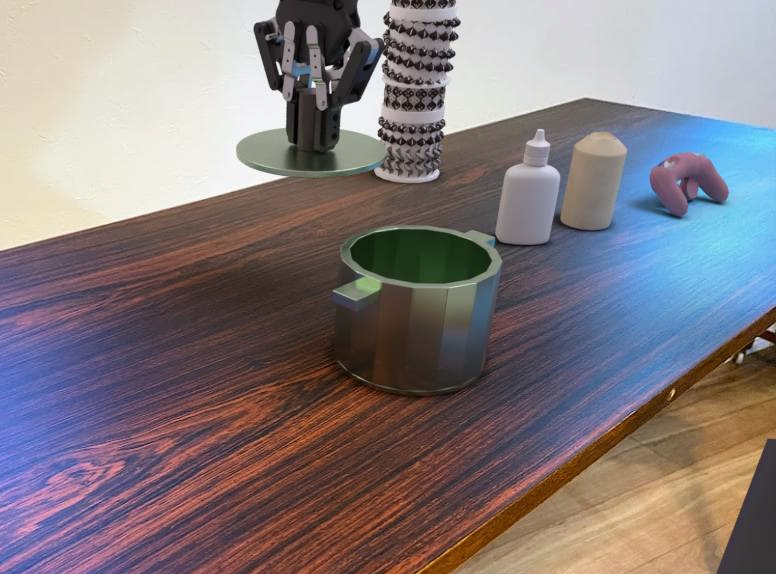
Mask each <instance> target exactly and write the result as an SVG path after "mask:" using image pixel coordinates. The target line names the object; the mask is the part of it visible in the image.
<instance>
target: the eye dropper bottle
mask: <svg viewBox="0 0 776 574" xmlns="http://www.w3.org/2000/svg"><path fill="white" fill-rule="evenodd" d="M550 150H551V143H550V142H548V141H546V139H545V129H544V128H543V129H542V128H538V129H537V130H536V133H535V134H534V137H533V138H532V139H531V140H528V141H526V143H525V148H524V155H523V160H522V162H521V163H519V164H515V165H513V166H511V167H509V168H507V170H506V171H505V173H504V177H503V183H502V190H501V196H500V201H499V208H498V214H497V220H496V225H495V230H494V231H495V232H494V234H495V236H496V237H495V238H496V239H497V240H498V242H500V243H502V244H507V245H517V246H534V245H542V244H543V245H544V244H545V243H548V241H549V240H550V237H551V231H552V226H553V220H554V216H555V210H556V205H557V200H558V195H559V189H560V183H561V174H560V172H559V171H558V169H556V168H555V167H553V166H551V165H550V164H548V162H549V161H548V160H549V156H550Z"/></svg>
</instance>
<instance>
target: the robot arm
mask: <svg viewBox="0 0 776 574" xmlns="http://www.w3.org/2000/svg"><path fill="white" fill-rule="evenodd" d="M358 2H359V0H279V2H278V5H277V7H276V10H275V15H274V16H272V17H271V18H269V19H267V20H261V21H257V22H255V23H254V25H253V35H254V37H255V41H256V45H257V49H258V52H259V55H260V59H261V63H262V65H263V69H264V73H265V76H266V79H267V83H268V86H269V87H268V88H269V89H270V90H271V91H272V92H273V91H274V92H275V91H278V92H280V94H281V95H282V98H283V100H284V101H285V102H286V107H285V110H286V111H285V128H286V133H287V136H288V141H289V143H292V144H295V145H297V132H298V103H299V90H301V89H303V88H312V86H313V83H314V84H315V85H314V86H315V88H316V103H317V107H318V108H319V109H316V110H315V130H314V149H315V150H316V151H319V152H326V151H329V150H332V149H334V148H335V146H336V144H337V143H338V141H339V136H340V133H339V132H340V129H341V119H342V117H341V116H342V109H343V107H344V106H346V105H351V104H354V103H358V102H360V101H361V100H362V98H363V95H364V93H365V90H366V89H367V88H368V86H369V85H368V84H369V82H370V80H371V78H372V76H373V74H374V72H375V69H376V67H377V65H378V63H379V61H380V59H381V57H382V55H383V54H382V53H383V51H384V48H385V44H386V43H385V42H384V39H383V37H382V38H381V37H375V38H372V37H371V36H370V35H369V34H367V32H365V31H364V30H363V29H362V28H361V17H360V15H359V10H358ZM277 63H278V64H279V68H280V71H279V68H278V64H277ZM326 67H330V68H328V69H326ZM280 72H281V74H280Z"/></svg>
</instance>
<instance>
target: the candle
mask: <svg viewBox="0 0 776 574" xmlns="http://www.w3.org/2000/svg"><path fill="white" fill-rule="evenodd" d="M627 154H628V149H627V147H626V146H625V145H624V144H623V142H622V141H621V140H619V139H618V138H617V137H616V136H615V135H614V134H612V133H610V132H609V131H593V132H591V133H590V134H587V135H586V136H585V137H583V138H582V139H580V140H579V141H577V142H576V143H575V144H574V145H573V151H572V157H571V162H570V165H569V171H568V176H567V181H566V186H565V191H564V196H563V201H562V206H561V212H560V221H561V223H562V224H564V225H565V226H568V227H571V228H574V229H578V230H583V231H601V230H605V229H607V228H609V227H610V225H611V222H612V220H613V219H612V218H613V215H614V211H615V206H616V201H617V197H618V194H619V189H620V185H621V182H622V181H621V180H622V177H623V172H624V168H625V163H626V159H627Z"/></svg>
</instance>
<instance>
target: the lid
mask: <svg viewBox="0 0 776 574" xmlns="http://www.w3.org/2000/svg"><path fill="white" fill-rule="evenodd" d="M316 109H319V108H318V107H317V103H316V87H311V88H303V89H301V90H299V103H298V132H297V145H295V144H292V143H289V141H288V136H287V133H286V127H280V128H273V129H268V130H263V131H259V132H255V133H252V134H250V135H247V136H246V137H244V138H242V139H241V140H239V141H238V142H237V144H236V147H235V156H236V158H237V160H238V161H239V162H240V163H241V164H243V165H245V166H246V167H248V168H251V169H253V170H255V171H259V172H263V173H266V174H269V175H275V176H281V177H288V178H301V179H329V178H330V179H335V178H343V177H351V176H355V175H361V174H364V173H367V172H371V171H374V169H375V168H377V167H379V166H381V165H382V164H383V163H384V162H385V161H386V158H387V148H386V146H385V145H384V144H383V143H382V142H380V139H377V138H375V137H373V136H371V135H367V134H364V133H361V132H357V131H353V130H349V129H342V128H340V132H339V133H340V136H339V141H338V143H337V144H336V146H335V148H334V149H332V150H329V151H326V152H319V151H316V150H315V149H314V130H315V110H316Z"/></svg>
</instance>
